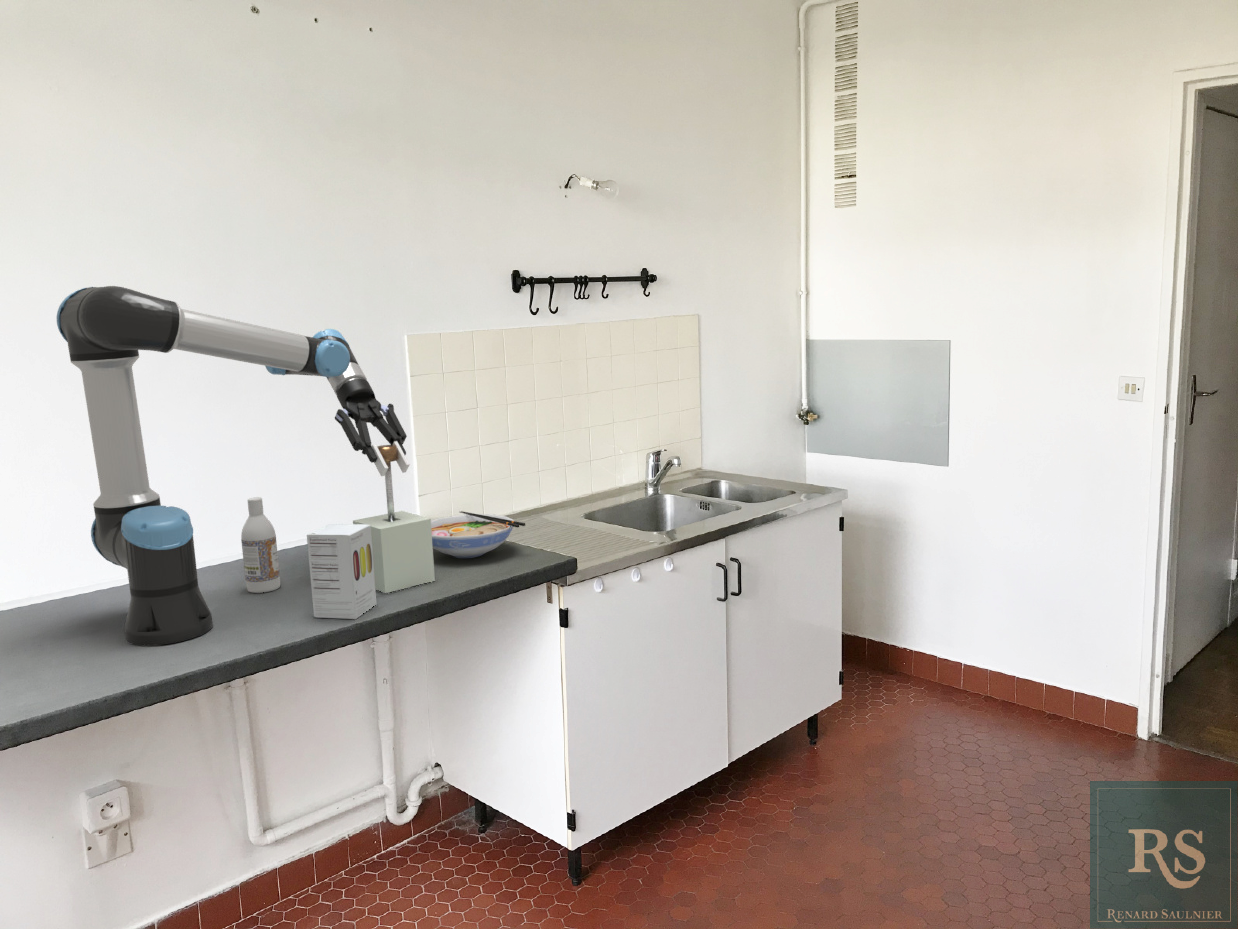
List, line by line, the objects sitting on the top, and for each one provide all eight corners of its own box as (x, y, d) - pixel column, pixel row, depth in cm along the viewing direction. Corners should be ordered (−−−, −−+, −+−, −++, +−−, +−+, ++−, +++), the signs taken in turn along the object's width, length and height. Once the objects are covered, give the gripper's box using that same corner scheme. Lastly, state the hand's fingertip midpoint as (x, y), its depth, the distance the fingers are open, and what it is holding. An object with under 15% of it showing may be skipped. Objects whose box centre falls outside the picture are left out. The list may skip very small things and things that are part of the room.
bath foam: (275, 593, 206) (265, 501, 203) (242, 594, 206) (232, 502, 203) (284, 583, 213) (276, 494, 210) (253, 584, 213) (243, 495, 210)
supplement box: (356, 620, 187) (349, 535, 184) (312, 618, 189) (304, 534, 186) (378, 604, 196) (371, 523, 193) (336, 603, 198) (329, 522, 195)
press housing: (385, 594, 203) (380, 529, 200) (358, 583, 212) (352, 520, 209) (434, 581, 211) (430, 518, 208) (406, 571, 219) (402, 510, 217)
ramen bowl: (399, 555, 234) (397, 522, 232) (478, 537, 249) (477, 505, 247) (456, 575, 215) (454, 539, 214) (538, 554, 230) (536, 520, 229)
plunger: (384, 539, 203) (377, 451, 199) (362, 532, 209) (355, 447, 206) (422, 531, 209) (416, 445, 206) (400, 524, 216) (394, 441, 212)
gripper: (382, 396, 222) (425, 475, 212) (310, 403, 210) (352, 487, 201) (392, 373, 217) (437, 453, 208) (319, 380, 205) (362, 465, 196)
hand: (395, 470), depth 204 cm, fingers closed on plunger, 4 cm apart
